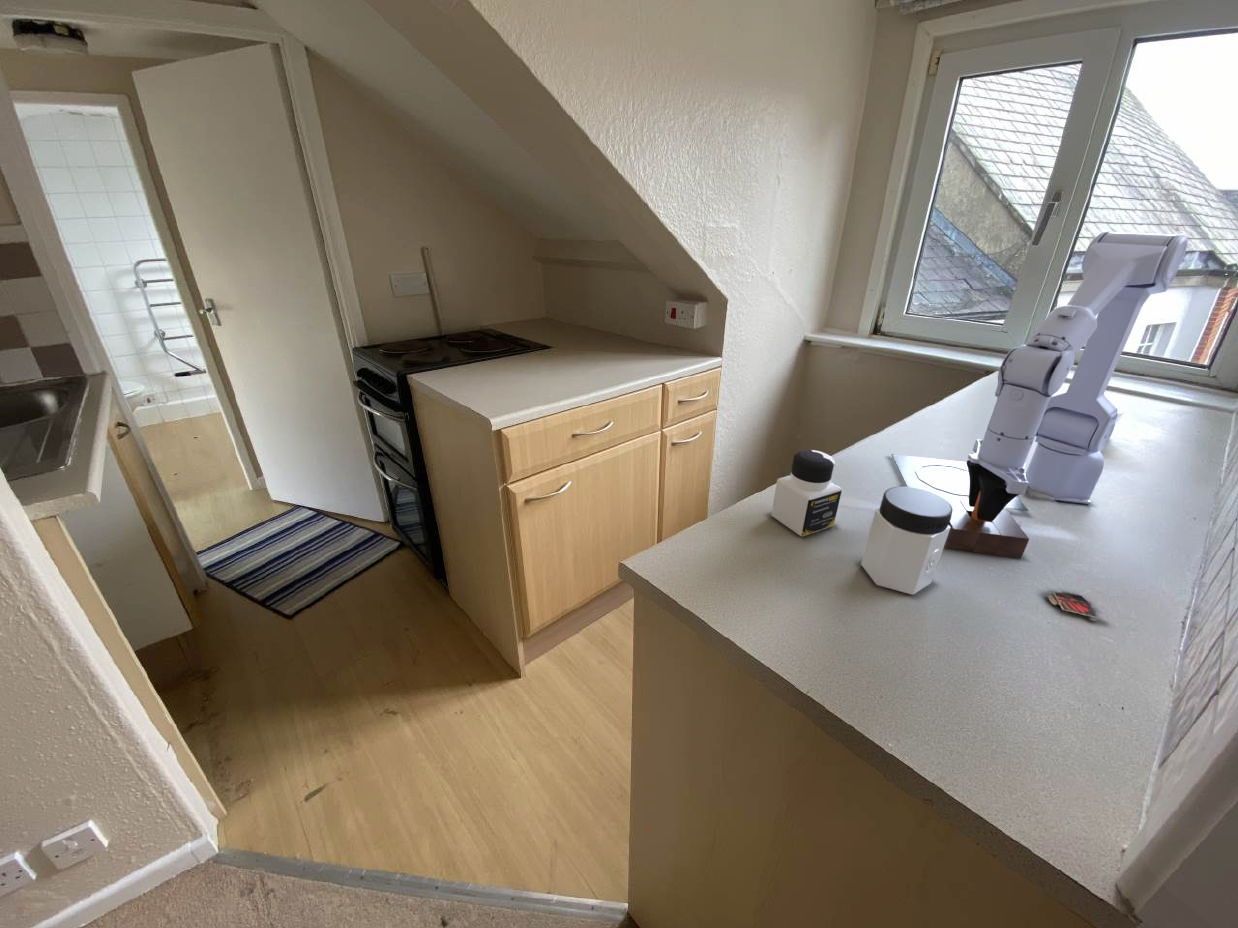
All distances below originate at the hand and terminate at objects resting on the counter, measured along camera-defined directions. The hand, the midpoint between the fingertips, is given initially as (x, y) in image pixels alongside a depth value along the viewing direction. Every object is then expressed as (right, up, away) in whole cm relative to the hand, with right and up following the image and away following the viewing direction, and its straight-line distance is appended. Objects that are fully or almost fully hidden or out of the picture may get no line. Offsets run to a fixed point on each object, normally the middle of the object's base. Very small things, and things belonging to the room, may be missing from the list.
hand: (980, 512), depth 82 cm
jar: (-17, -8, -7) cm, 20 cm away
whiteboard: (+6, +4, +17) cm, 19 cm away
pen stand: (0, -4, +2) cm, 4 cm away
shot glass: (+52, +14, +39) cm, 66 cm away
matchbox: (+3, -11, -13) cm, 17 cm away
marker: (0, -4, +2) cm, 4 cm away
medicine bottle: (-26, -2, +5) cm, 27 cm away
